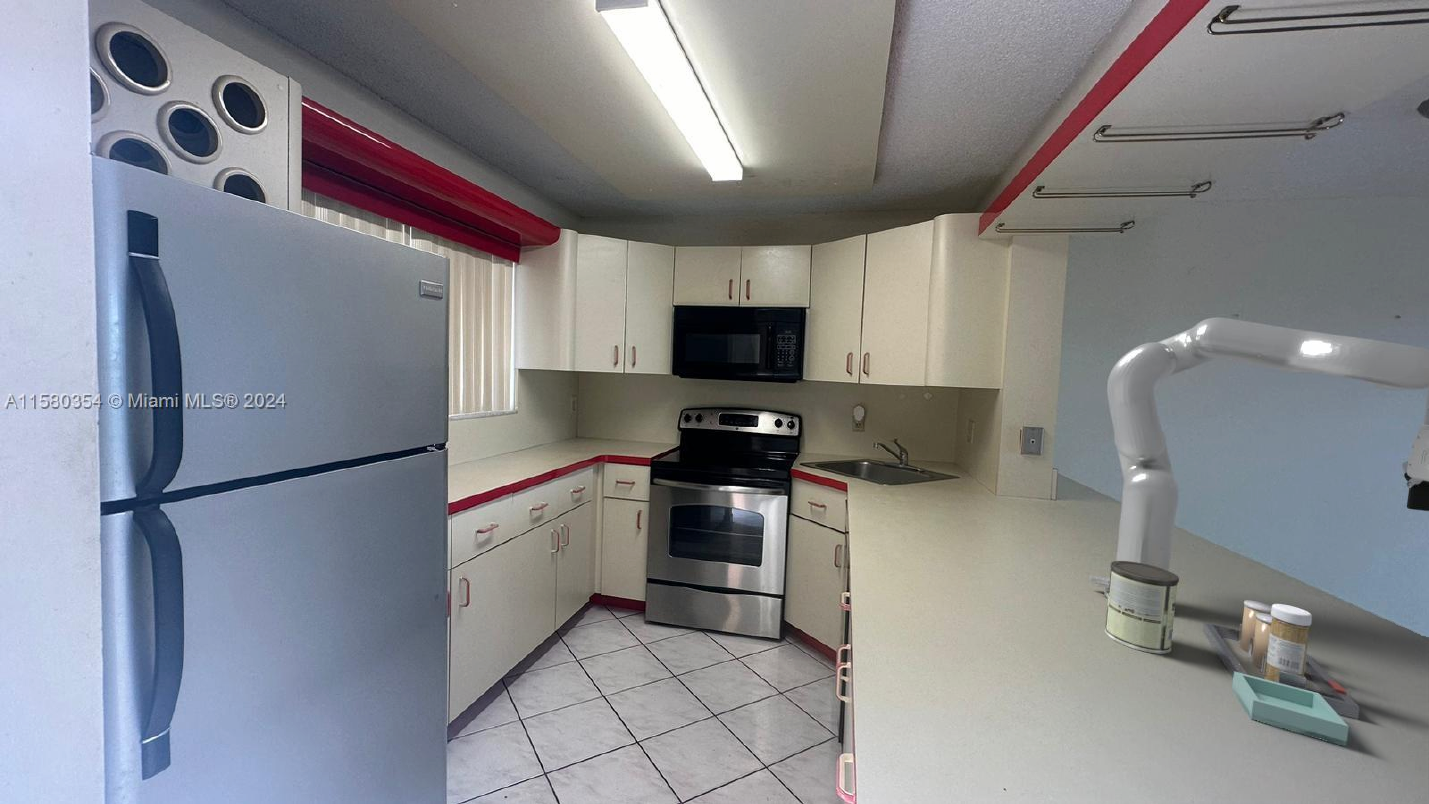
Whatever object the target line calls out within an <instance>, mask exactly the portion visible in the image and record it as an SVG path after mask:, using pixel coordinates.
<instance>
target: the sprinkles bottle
mask: <svg viewBox="0 0 1429 804" xmlns="http://www.w3.org/2000/svg"><path fill="white" fill-rule="evenodd" d="M1271 606H1272V608H1271V615H1272V623H1271V631H1270V636H1269V645H1268V653H1267V665H1266V675H1264V678H1263V679H1265V680H1269V681H1273V682H1277V681H1278V673H1279V671H1283V672H1287V673H1291V674H1295V675H1300V676H1304V677H1305V673H1306V672H1305V666H1306V658H1307V654H1308V652H1307V650H1308V642H1309V641H1308V640H1309V632H1310V631H1309V629H1310V628H1311V625H1312V622H1313V621H1312V620H1313V618H1312V617H1313V615H1312V614H1311V612H1309V611H1307V610H1305V609H1302V608H1301V607H1300V608H1299V607H1296V606H1293V605H1288V604H1285V603H1284V604H1282V603H1274V604H1272V605H1271ZM1306 653H1307V654H1306Z"/></svg>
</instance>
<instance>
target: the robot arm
mask: <svg viewBox="0 0 1429 804" xmlns="http://www.w3.org/2000/svg"><path fill="white" fill-rule="evenodd" d="M1216 359H1219V360H1224V361H1229V362H1235V363H1239V364H1245V365H1249V366H1255V367H1259V368H1266V369H1270V370H1276V371H1280V372H1287V373H1296V374H1318V375H1325V376H1333V377H1340V378H1345V379H1346V378H1347V379H1351V380H1357V381H1362V382H1365V383H1366V384H1368V385H1369V386H1371V387H1373V388H1377V389H1380V390H1384V391H1410V390H1411V391H1412V390H1413V391H1415V390H1427V396H1426V403H1425V404H1426V405H1425V412H1424V418H1423V425H1422V426H1420V427H1419V428H1418V431H1417V433H1416V435H1415V437H1414V439H1413V443H1412V446H1411V450H1410V453H1409V457H1408V460H1407V461H1404V462H1403V463H1402V464H1401V467H1402V470H1403V472H1404V474H1403V476H1404V478H1405V480H1406V481H1407V482H1406V487H1407V488H1408V493H1407V499H1406V500H1407V501H1406V508H1407V509H1409V510H1414V511H1415V510H1416V511H1424V512H1429V349H1427V348H1424V347H1419V346H1415V345H1409V344H1402V343H1397V342H1396V343H1395V342H1389V341H1383V340H1378V339H1377V340H1376V339H1370V338H1364V337H1355V336H1349V335H1340V334H1331V333H1326V332H1319V331H1310V330H1303V329H1296V328H1289V327H1283V326H1276V325H1271V324H1265V323H1259V322H1253V321H1252V322H1251V321H1247V320H1240V319H1234V318H1227V317H1210V318H1206V319H1204V320H1201V321H1200V322H1198V323H1196V325H1194V326H1193V327H1191V328H1189V329H1187V330H1184V331H1182V332H1180V333H1177V334H1175V335H1173V336H1170V337H1168V338H1166V339H1163V340H1159V341H1158V342H1153V341H1152V342H1146V343H1143V344H1139V345H1138V346H1135V347H1134V348H1132V349H1131V350H1129V351H1128V352H1127V353H1125V354H1124V355H1123V356H1122V357H1121V358H1120V359H1119V360H1118V361H1116V363H1115V364H1114V366H1113V367H1112V368H1111V370H1110V374H1109V376H1108V379H1107V386H1106V388H1107V401H1108V405H1109V412H1110V417H1111V422H1112V428H1113V434H1114V436H1113V438H1114V445H1115V448H1116V450H1117V455H1118V459H1119V464H1120V468H1121V472H1122V477H1123V486H1122V495H1121V506H1120V507H1121V508H1120V518H1119V526H1118V527H1119V528H1118V541H1117V550H1116V560H1115V561H1130V562H1137V563H1143V564H1147V565H1151V566H1155V567H1158V568H1162V569H1164V570H1167V571H1169V572H1170V567H1171V557H1172V549H1173V538H1174V531H1175V522H1176V516H1177V510H1178V505H1179V504H1178V503H1179V495H1180V494H1179V486H1178V482H1177V481H1176V478H1175V476H1174V472H1173V468H1172V464H1171V459H1170V455H1169V451H1168V447H1167V437H1166V435H1165V432H1164V431H1163V428H1162V425H1161V421H1160V417H1159V413H1158V408H1157V402H1156V397H1155V387H1156V384H1157V382H1158V381H1160V380H1162V379H1166V378H1168V377H1171V376H1173V375H1176V374H1180V373H1182V372H1185V371H1187V370H1191V369H1193V368H1196V367H1198V366H1201V365H1204V364H1206V363H1208V362H1212V361H1214V360H1216ZM1089 583H1090V584H1095V585H1096V586H1097V587H1100V588H1104V596H1105V597H1106V598H1107V599H1108V595H1109V584H1110V576H1106V577H1101V576H1099V575H1094V574H1090V575H1089Z"/></svg>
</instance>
